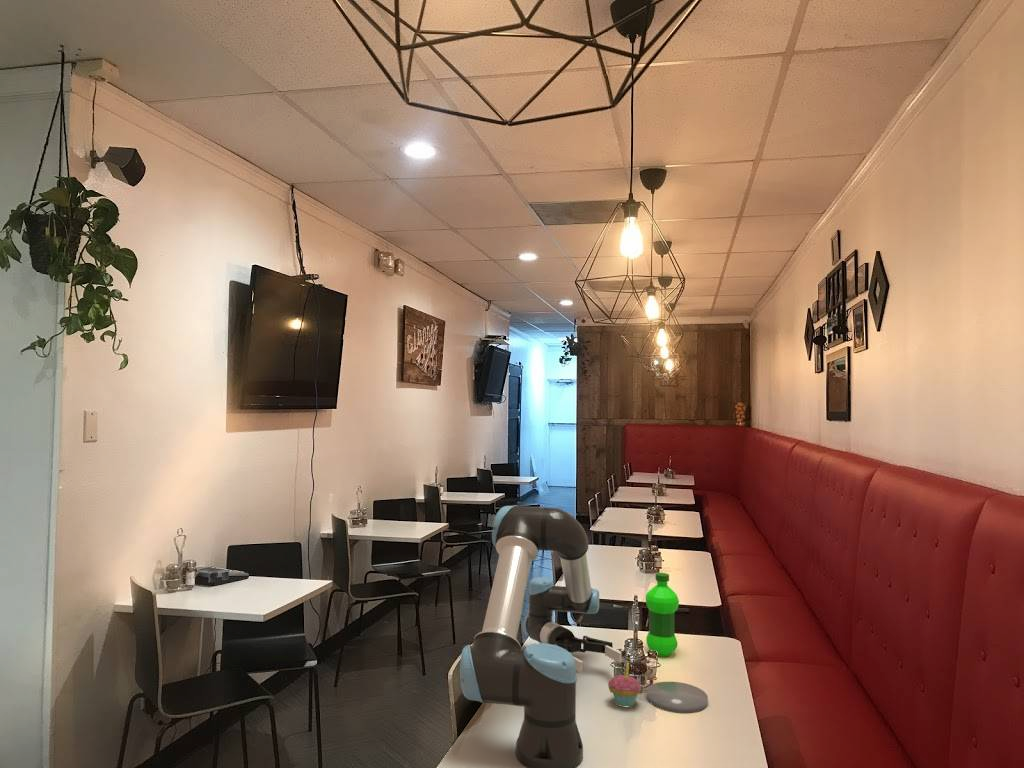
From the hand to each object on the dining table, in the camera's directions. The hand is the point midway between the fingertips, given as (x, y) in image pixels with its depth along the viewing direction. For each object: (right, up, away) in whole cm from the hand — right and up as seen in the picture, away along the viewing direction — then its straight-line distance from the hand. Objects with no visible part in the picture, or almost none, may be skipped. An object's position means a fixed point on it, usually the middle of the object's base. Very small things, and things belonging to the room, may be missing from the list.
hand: (601, 662), depth 189 cm
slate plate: (+19, -8, -6) cm, 22 cm away
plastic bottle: (+23, -9, +28) cm, 37 cm away
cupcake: (+5, -8, -9) cm, 12 cm away
